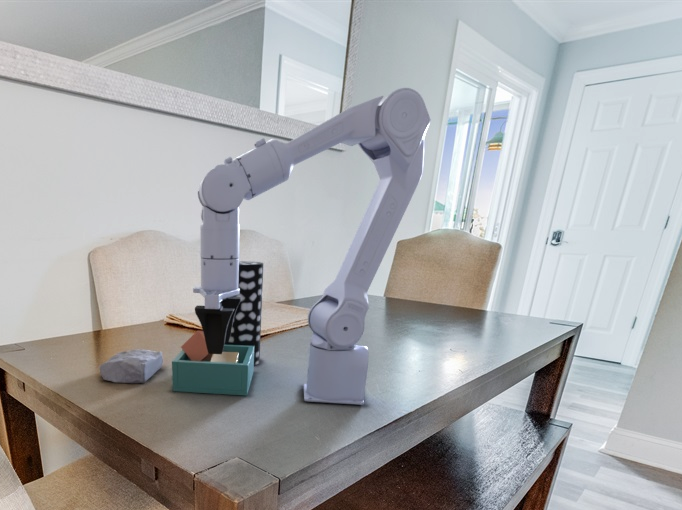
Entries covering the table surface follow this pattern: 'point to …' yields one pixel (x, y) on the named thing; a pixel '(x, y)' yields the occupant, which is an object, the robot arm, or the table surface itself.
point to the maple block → (226, 357)
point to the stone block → (131, 366)
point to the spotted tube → (248, 308)
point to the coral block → (197, 348)
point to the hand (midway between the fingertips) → (219, 347)
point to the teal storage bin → (214, 373)
